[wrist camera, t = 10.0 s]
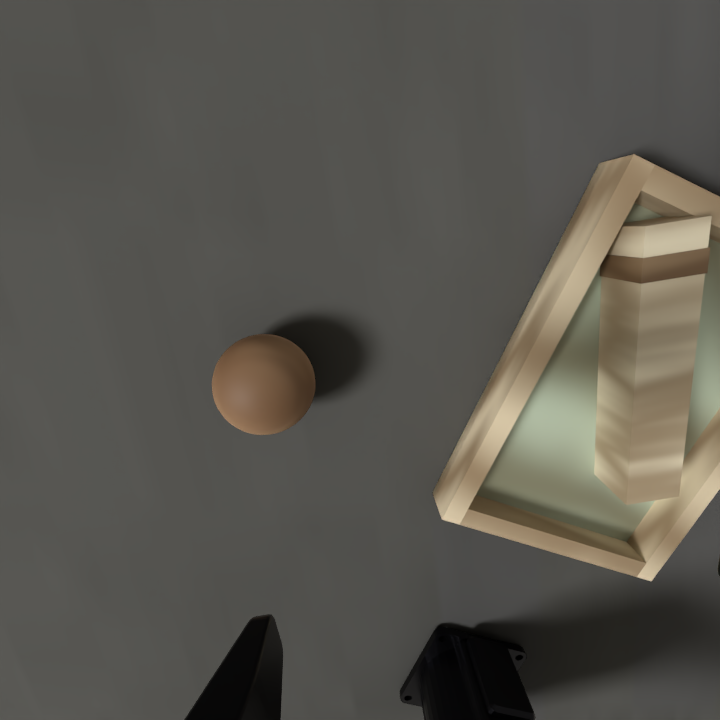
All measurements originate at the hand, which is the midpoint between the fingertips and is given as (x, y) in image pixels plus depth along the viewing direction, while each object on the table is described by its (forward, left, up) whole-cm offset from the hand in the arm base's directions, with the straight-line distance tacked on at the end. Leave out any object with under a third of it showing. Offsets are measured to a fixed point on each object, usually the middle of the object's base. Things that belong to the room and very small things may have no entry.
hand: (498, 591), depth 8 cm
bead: (-2, +6, -13) cm, 14 cm away
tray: (+3, -11, -13) cm, 17 cm away
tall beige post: (-1, -13, -11) cm, 17 cm away
